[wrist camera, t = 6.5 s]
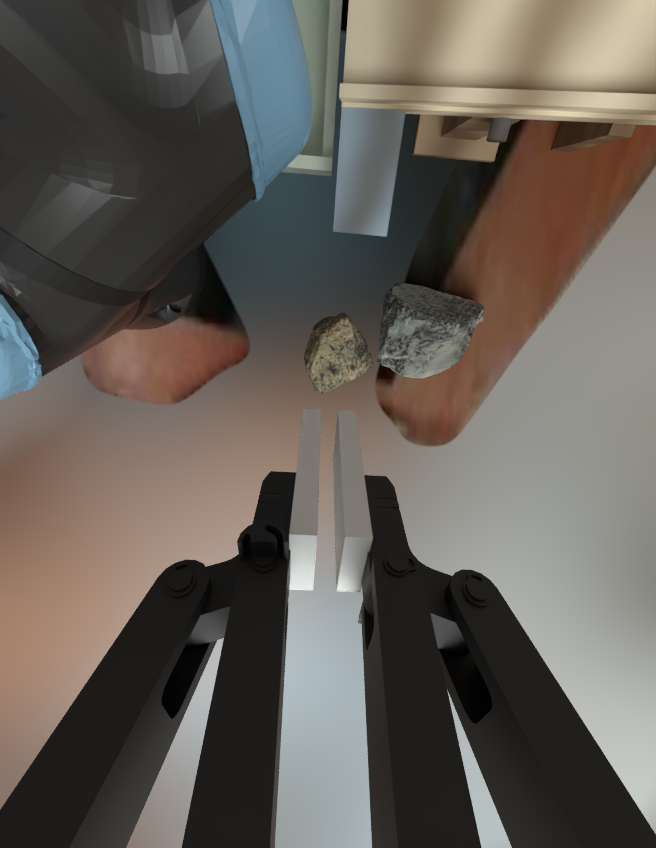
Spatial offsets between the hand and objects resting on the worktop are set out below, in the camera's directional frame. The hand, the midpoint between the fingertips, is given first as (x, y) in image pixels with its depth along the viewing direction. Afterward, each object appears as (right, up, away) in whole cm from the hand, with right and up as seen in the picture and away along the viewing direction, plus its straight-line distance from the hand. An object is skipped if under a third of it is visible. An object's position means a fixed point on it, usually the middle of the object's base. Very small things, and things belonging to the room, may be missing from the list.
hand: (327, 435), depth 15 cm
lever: (+11, +20, +6) cm, 24 cm away
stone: (+10, +12, +21) cm, 27 cm away
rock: (+1, +9, +24) cm, 25 cm away
